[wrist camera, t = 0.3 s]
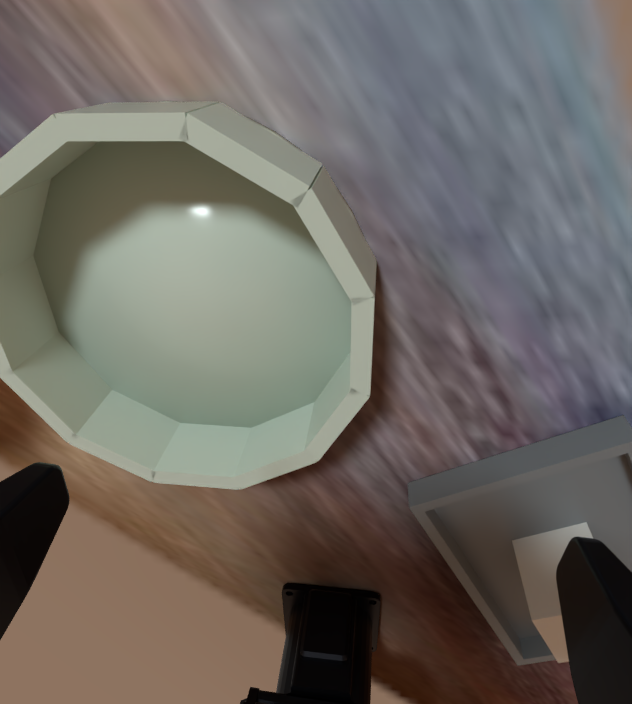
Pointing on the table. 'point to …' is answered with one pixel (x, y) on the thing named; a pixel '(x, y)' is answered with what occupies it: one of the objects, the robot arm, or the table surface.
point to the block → (546, 581)
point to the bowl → (182, 292)
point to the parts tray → (527, 517)
